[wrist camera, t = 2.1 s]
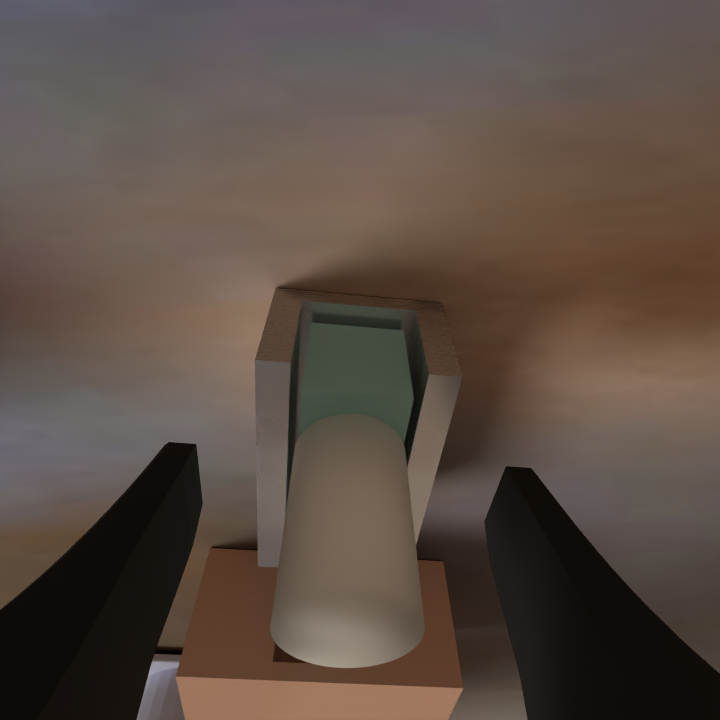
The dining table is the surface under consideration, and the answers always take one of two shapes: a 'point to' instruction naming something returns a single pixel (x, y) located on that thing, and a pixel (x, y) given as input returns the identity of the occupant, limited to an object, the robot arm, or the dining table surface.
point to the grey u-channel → (284, 386)
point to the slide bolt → (350, 507)
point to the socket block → (299, 678)
